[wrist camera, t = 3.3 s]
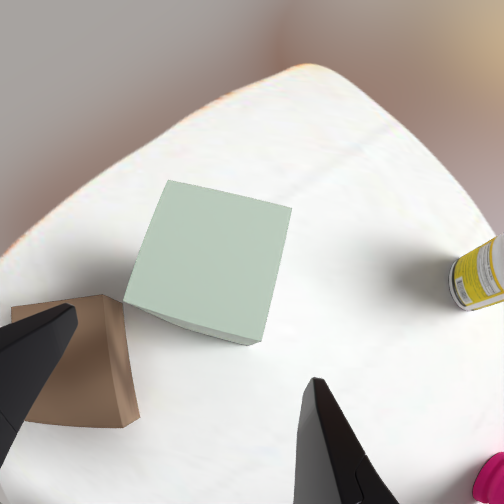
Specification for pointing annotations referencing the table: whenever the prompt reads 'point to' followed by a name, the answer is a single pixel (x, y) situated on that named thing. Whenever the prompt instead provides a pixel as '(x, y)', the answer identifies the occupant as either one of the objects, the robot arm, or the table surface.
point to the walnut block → (88, 369)
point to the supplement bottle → (479, 276)
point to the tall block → (210, 262)
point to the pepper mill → (491, 481)
